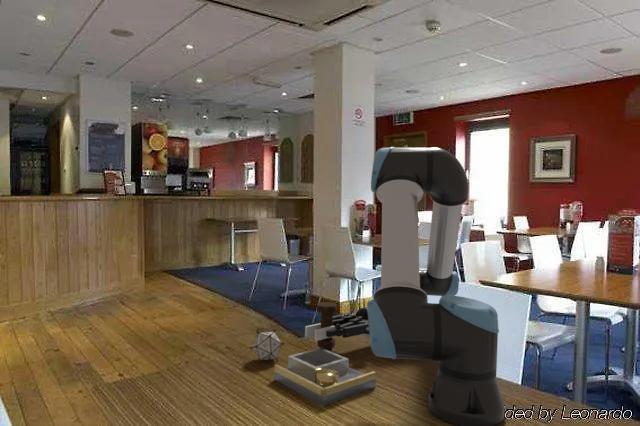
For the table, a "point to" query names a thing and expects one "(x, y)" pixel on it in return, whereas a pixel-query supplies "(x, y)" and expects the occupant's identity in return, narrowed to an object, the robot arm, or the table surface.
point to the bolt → (326, 323)
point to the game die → (267, 345)
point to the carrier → (323, 376)
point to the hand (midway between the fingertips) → (310, 333)
